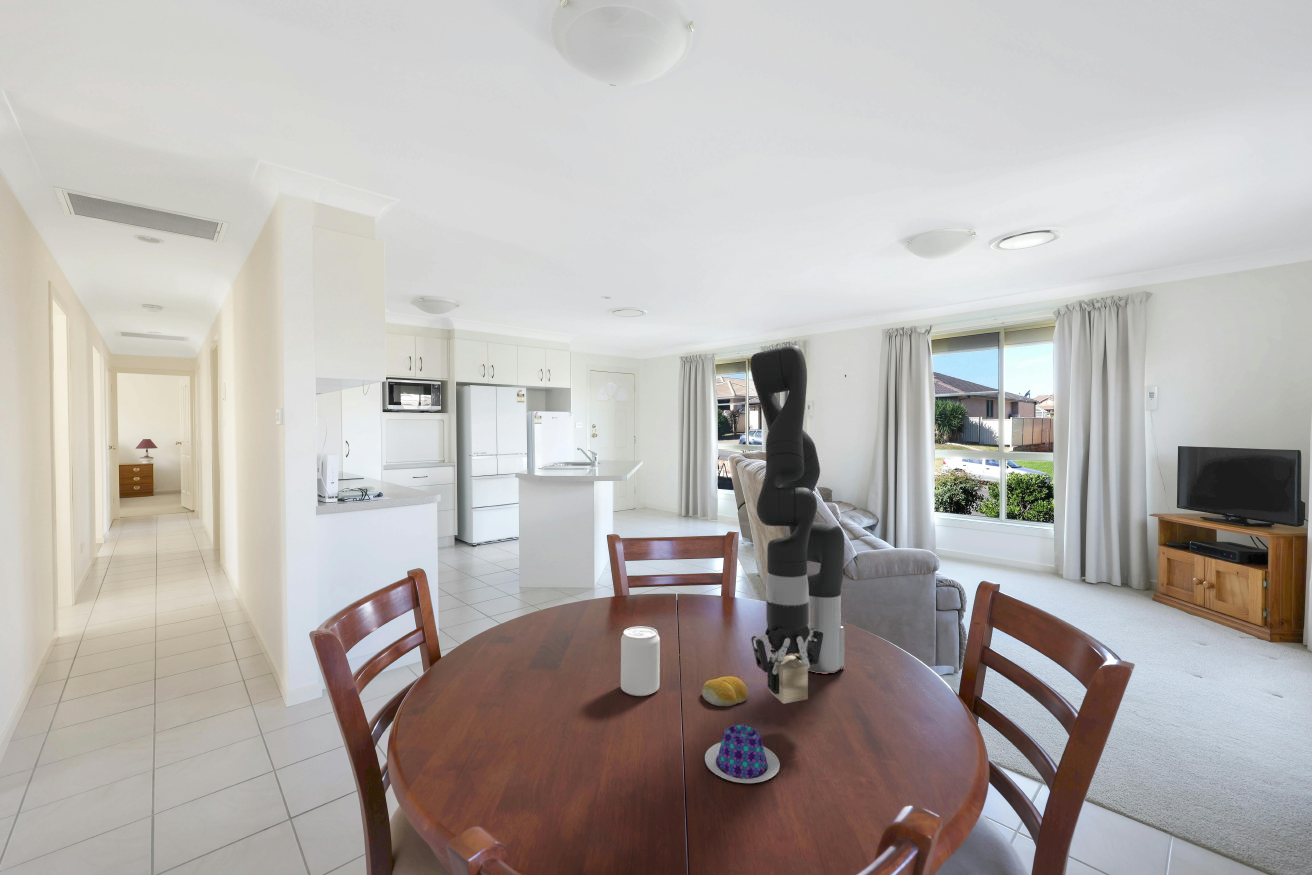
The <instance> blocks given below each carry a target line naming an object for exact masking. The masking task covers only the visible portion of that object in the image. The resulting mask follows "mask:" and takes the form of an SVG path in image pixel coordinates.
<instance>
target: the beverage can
mask: <svg viewBox="0 0 1312 875" xmlns="http://www.w3.org/2000/svg"><path fill="white" fill-rule="evenodd" d="M660 641H661V638H660V636H659V633H658V630H657V629H655V628H654V627H650V626H644V625H643V626H642V625H641V626H638V625H637V626H630V627H628V628H626V629H624V630H623V633H622V636H621V638H620V689H621V690H622V691H623V692H624V693H626V694H628V695H630V696H636V697H645V696H649V695H651V694H654V693H656V692H657V691H658V690H659V689H660V667H661V664H660V663H661V662H660V661H661V660H660V655H661V653H660V651H661V650H660V647H661V642H660Z"/></svg>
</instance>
